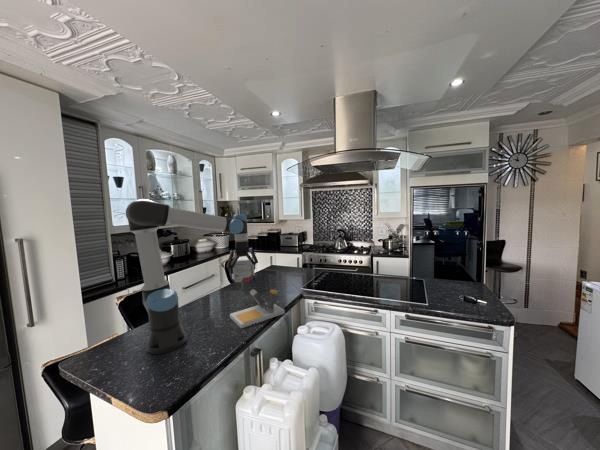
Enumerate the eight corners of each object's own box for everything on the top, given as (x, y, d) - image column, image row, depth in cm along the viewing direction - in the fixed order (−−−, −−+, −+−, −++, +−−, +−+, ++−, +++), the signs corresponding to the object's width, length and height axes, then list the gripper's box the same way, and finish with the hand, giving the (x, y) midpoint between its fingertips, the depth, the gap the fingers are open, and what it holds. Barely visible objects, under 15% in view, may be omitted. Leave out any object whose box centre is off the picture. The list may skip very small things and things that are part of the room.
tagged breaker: (268, 311, 131) (273, 290, 132) (264, 309, 134) (270, 289, 135) (272, 311, 132) (277, 291, 134) (269, 309, 135) (274, 289, 137)
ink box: (252, 278, 149) (251, 258, 148) (248, 282, 141) (247, 261, 140) (239, 278, 150) (238, 259, 149) (234, 282, 141) (232, 262, 141)
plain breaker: (262, 307, 138) (252, 293, 135) (259, 305, 142) (249, 291, 138) (265, 304, 140) (255, 290, 136) (262, 302, 143) (252, 288, 139)
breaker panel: (241, 328, 119) (240, 320, 119) (230, 317, 132) (229, 309, 132) (284, 313, 134) (284, 305, 133) (270, 304, 147) (270, 297, 146)
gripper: (223, 243, 134) (225, 282, 135) (262, 239, 148) (264, 274, 149) (219, 242, 140) (221, 279, 141) (257, 238, 154) (259, 272, 155)
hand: (243, 277), depth 145 cm, fingers closed on ink box, 11 cm apart
